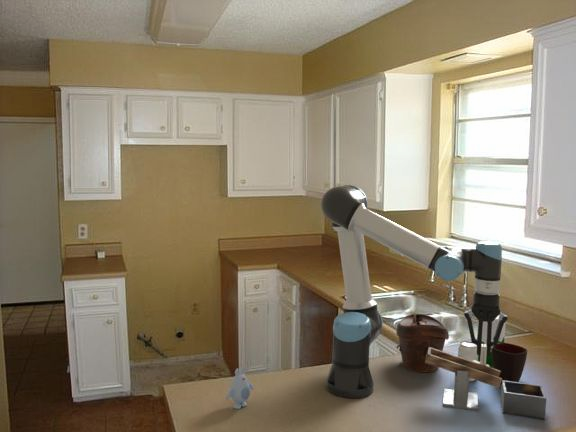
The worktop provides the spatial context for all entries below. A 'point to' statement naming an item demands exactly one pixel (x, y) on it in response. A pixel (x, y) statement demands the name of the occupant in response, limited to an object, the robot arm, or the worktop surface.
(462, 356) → the can
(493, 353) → the cup
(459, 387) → the stand
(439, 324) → the case
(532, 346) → the worktop surface
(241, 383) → the toy figure
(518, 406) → the tin
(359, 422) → the worktop surface
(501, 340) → the milk carton
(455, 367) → the lever
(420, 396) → the worktop surface
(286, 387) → the worktop surface
